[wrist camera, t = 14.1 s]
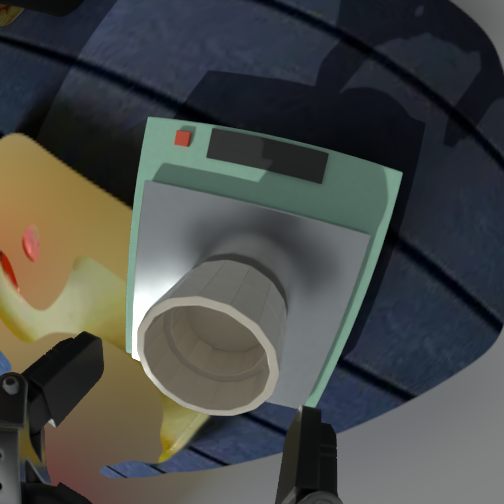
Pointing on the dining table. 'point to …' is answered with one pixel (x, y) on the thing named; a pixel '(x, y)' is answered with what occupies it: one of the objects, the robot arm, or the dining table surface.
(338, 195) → the scale
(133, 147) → the dining table surface
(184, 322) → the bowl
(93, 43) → the dining table surface
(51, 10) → the drinking cup
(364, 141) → the dining table surface
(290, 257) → the scale pan
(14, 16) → the canned food
